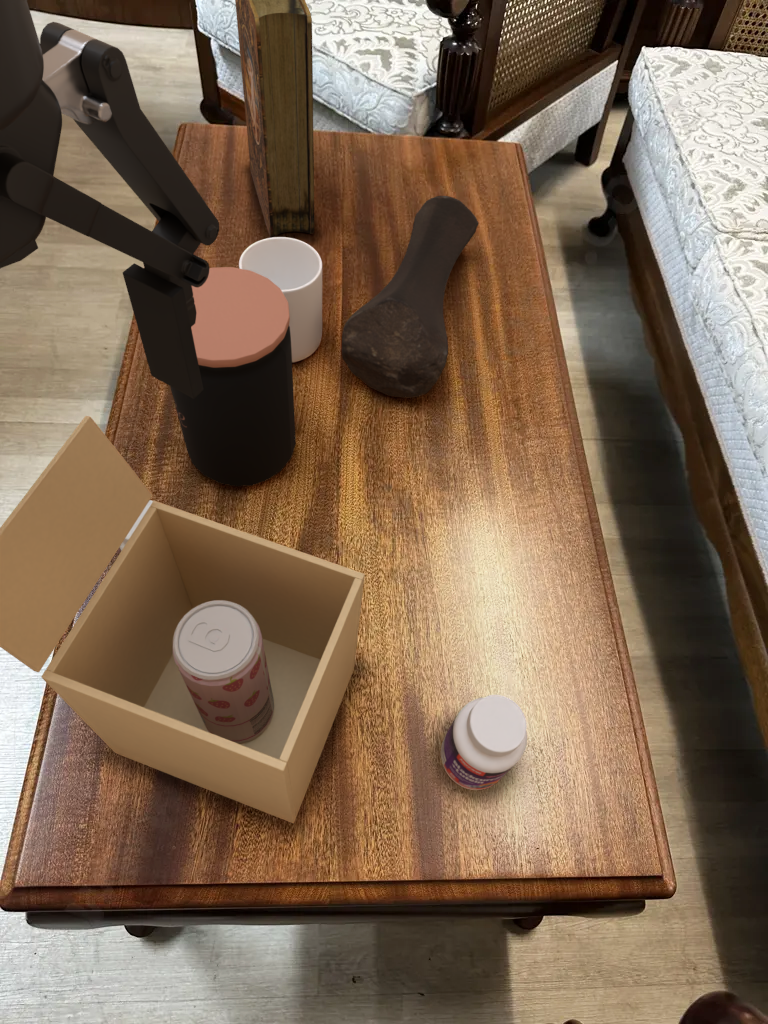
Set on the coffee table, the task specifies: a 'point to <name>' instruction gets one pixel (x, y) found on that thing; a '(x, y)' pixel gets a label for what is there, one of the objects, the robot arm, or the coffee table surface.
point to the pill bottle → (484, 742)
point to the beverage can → (225, 669)
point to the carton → (158, 682)
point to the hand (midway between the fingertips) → (82, 474)
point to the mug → (292, 286)
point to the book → (279, 109)
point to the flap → (63, 541)
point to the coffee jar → (240, 380)
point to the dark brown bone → (411, 307)
